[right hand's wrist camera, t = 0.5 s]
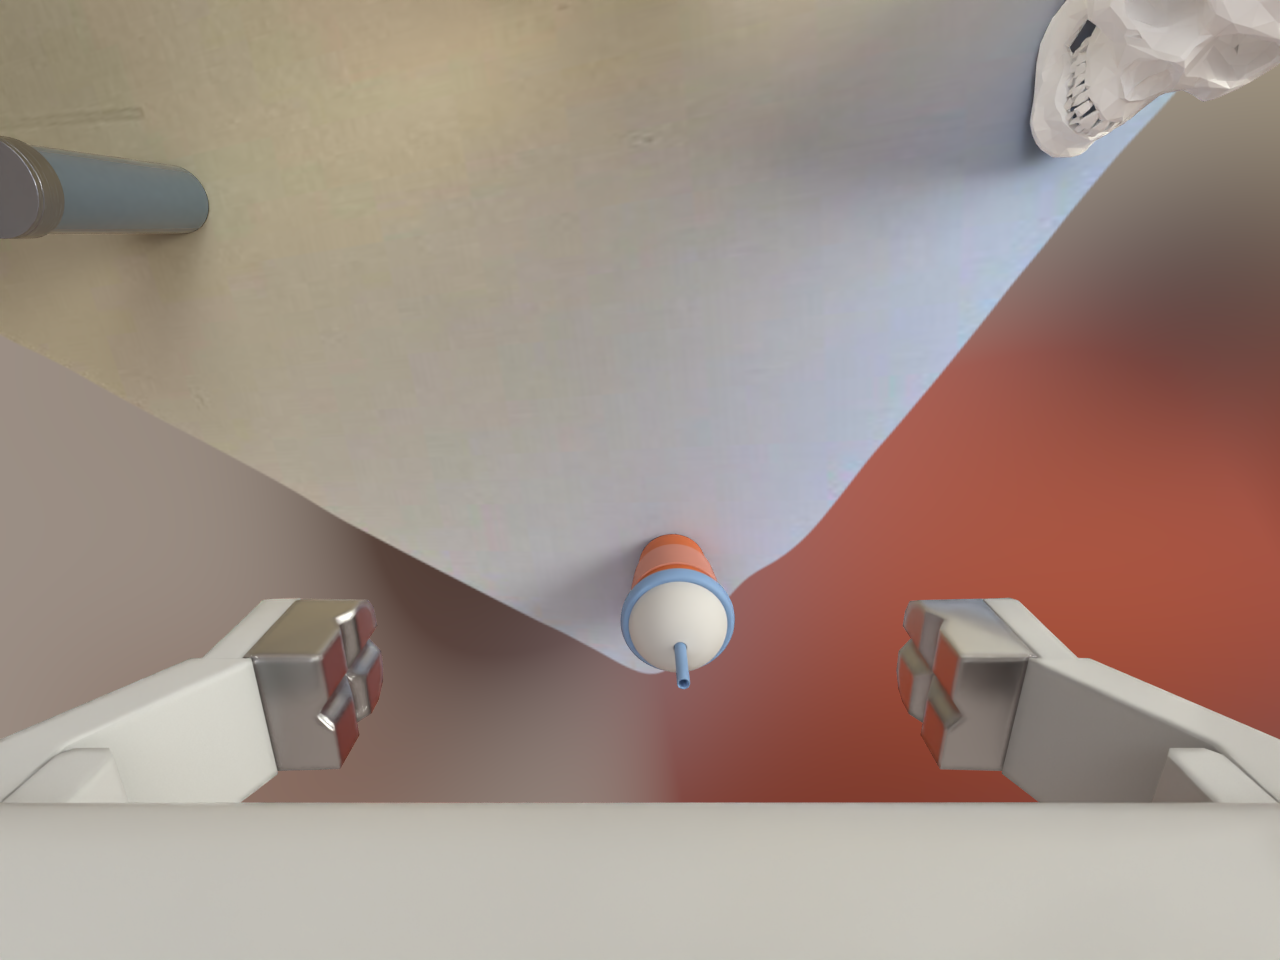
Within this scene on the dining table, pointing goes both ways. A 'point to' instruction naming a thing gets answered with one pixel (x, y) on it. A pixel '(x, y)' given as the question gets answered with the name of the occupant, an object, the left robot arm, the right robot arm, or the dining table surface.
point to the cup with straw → (676, 608)
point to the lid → (27, 192)
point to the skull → (1143, 61)
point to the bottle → (125, 195)
